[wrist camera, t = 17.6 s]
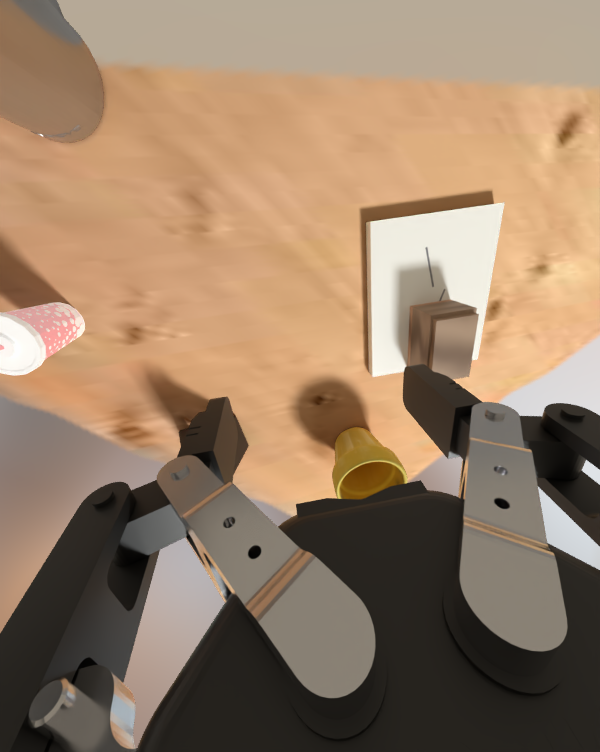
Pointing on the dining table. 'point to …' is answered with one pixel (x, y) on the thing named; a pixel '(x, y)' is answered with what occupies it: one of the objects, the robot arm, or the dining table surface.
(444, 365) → the block
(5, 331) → the beverage cup
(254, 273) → the dining table surface
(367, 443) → the plant pot
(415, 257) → the board
